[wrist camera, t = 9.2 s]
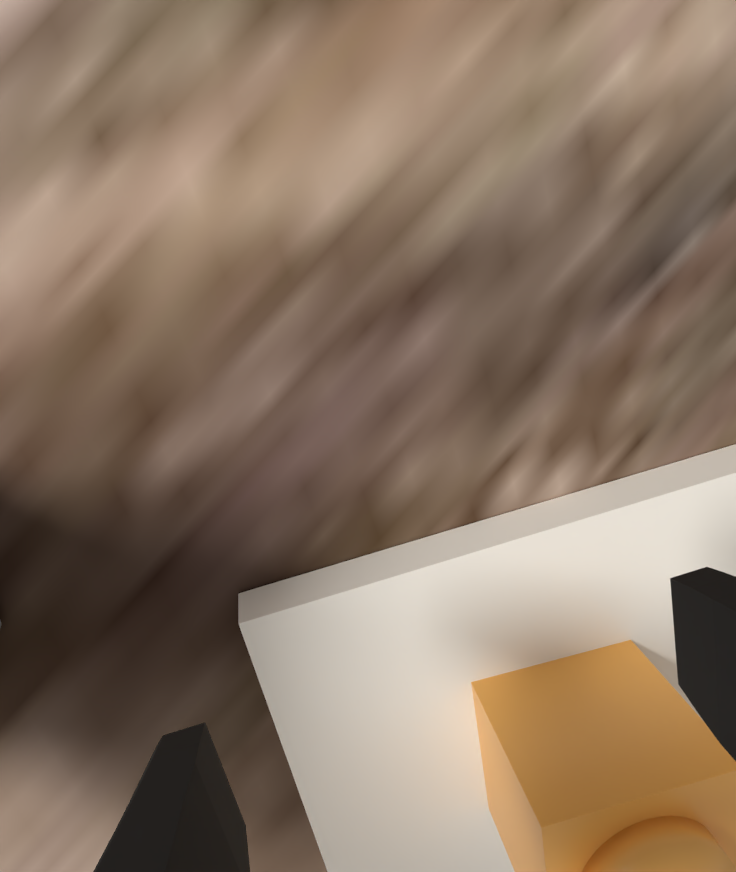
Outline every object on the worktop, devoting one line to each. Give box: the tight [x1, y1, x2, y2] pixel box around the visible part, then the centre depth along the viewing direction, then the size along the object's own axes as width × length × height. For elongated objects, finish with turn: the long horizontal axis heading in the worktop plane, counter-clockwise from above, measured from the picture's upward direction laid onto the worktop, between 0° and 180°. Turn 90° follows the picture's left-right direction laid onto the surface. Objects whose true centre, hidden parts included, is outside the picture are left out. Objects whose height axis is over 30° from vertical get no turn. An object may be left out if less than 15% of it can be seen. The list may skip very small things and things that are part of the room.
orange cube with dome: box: [471, 640, 736, 872], centre depth 19 cm, size 5×5×6 cm
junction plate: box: [238, 444, 736, 872], centre depth 20 cm, size 16×14×5 cm
